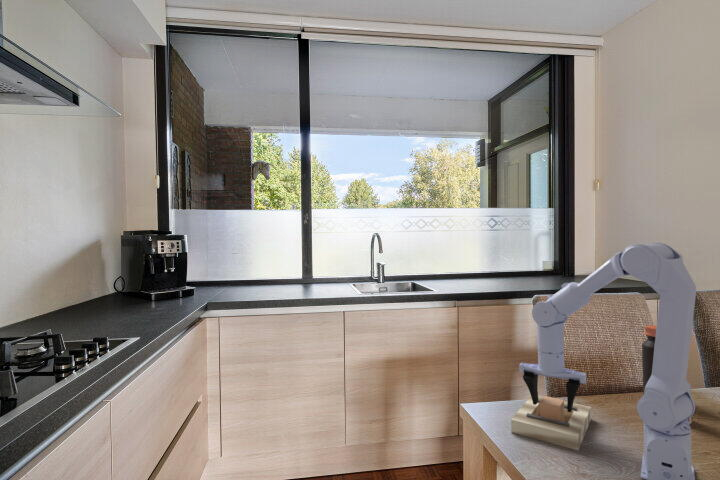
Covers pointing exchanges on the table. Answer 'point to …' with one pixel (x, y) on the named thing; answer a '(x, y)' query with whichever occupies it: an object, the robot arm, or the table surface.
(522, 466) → the table surface
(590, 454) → the table surface
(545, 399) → the block
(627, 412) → the table surface
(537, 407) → the slotted wooden holder
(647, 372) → the vinegar
